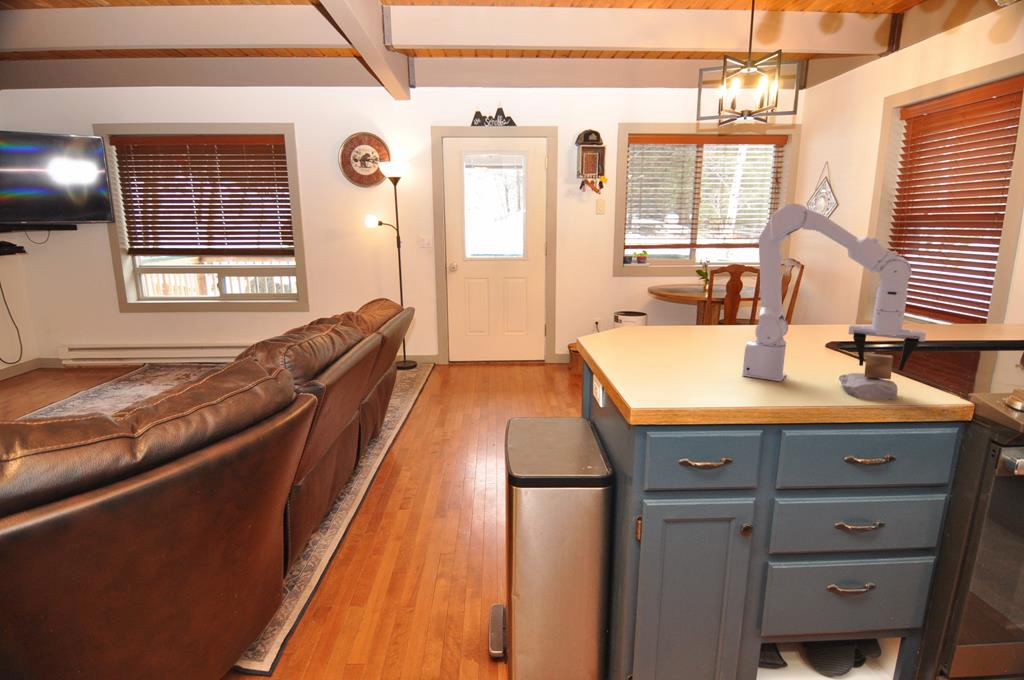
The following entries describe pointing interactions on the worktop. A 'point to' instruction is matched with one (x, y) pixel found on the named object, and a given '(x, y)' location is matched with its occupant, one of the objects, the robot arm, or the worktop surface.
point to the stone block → (868, 387)
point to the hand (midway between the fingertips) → (880, 367)
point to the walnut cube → (878, 366)
